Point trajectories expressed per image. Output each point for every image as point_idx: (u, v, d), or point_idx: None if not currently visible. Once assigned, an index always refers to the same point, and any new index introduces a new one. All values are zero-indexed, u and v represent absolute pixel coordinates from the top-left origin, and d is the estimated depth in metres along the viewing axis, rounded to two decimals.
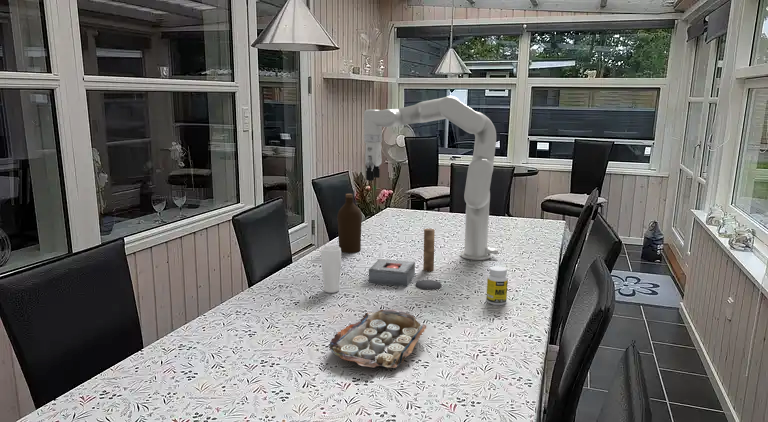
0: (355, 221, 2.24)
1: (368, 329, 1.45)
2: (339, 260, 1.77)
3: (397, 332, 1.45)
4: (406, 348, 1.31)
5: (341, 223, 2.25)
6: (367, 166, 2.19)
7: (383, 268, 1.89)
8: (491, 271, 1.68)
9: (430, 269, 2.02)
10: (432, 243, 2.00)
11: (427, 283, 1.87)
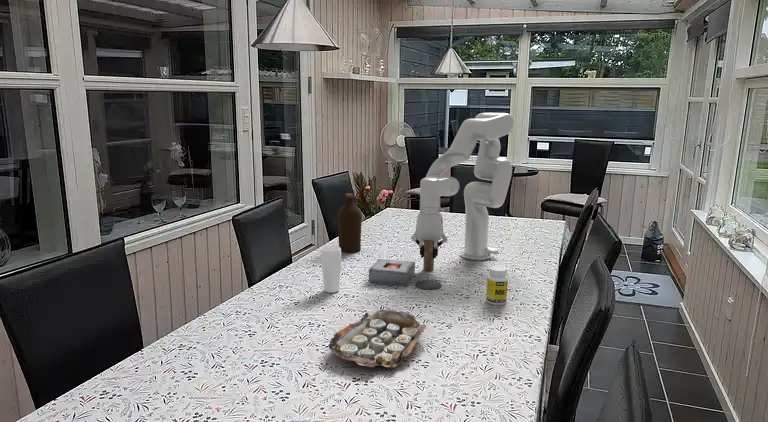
0: (355, 221, 2.24)
1: (368, 329, 1.45)
2: (339, 260, 1.77)
3: (397, 332, 1.45)
4: (406, 348, 1.31)
5: (341, 223, 2.25)
6: (442, 243, 2.01)
7: (383, 268, 1.89)
8: (491, 271, 1.68)
9: (430, 269, 2.02)
10: (432, 243, 2.00)
11: (427, 283, 1.87)
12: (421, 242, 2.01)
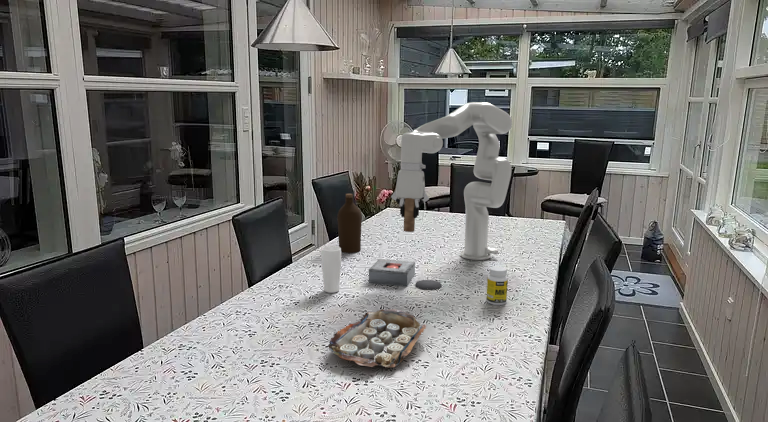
0: (355, 221, 2.24)
1: (368, 328, 1.45)
2: (339, 260, 1.77)
3: (397, 332, 1.45)
4: (405, 348, 1.31)
5: (341, 223, 2.25)
6: (423, 202, 1.91)
7: (383, 268, 1.89)
8: (491, 271, 1.68)
9: (410, 229, 1.93)
10: (413, 202, 1.91)
11: (427, 283, 1.87)
12: (401, 201, 1.92)
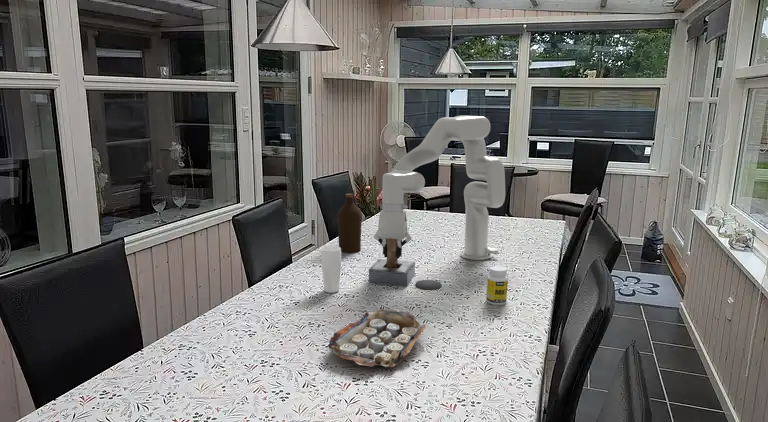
0: (355, 221, 2.24)
1: (368, 328, 1.45)
2: (339, 260, 1.77)
3: (397, 331, 1.45)
4: (405, 348, 1.31)
5: (341, 223, 2.25)
6: (406, 242, 1.89)
7: (383, 268, 1.89)
8: (491, 271, 1.68)
9: None
10: (395, 242, 1.89)
11: (427, 283, 1.87)
12: (384, 241, 1.90)
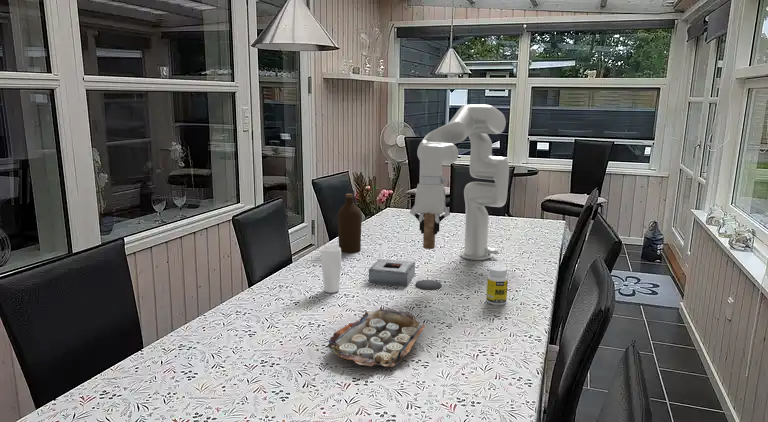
0: (355, 221, 2.24)
1: (367, 328, 1.45)
2: (339, 260, 1.77)
3: (396, 331, 1.45)
4: (404, 347, 1.31)
5: (341, 223, 2.25)
6: (444, 217, 1.80)
7: (383, 268, 1.89)
8: (491, 271, 1.68)
9: (431, 246, 1.81)
10: (433, 217, 1.80)
11: (427, 283, 1.87)
12: (421, 216, 1.81)
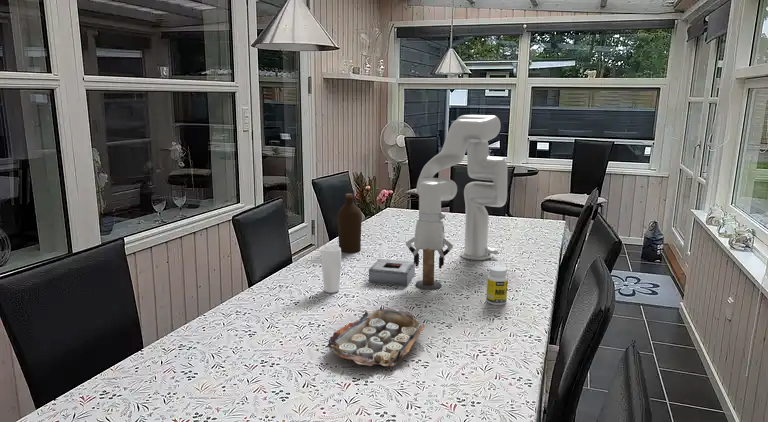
0: (355, 221, 2.24)
1: (367, 328, 1.45)
2: (339, 260, 1.77)
3: (396, 331, 1.46)
4: (404, 347, 1.31)
5: (341, 223, 2.25)
6: None
7: (383, 268, 1.89)
8: (491, 271, 1.68)
9: (430, 283, 1.84)
10: (432, 255, 1.82)
11: None
12: (416, 250, 1.83)
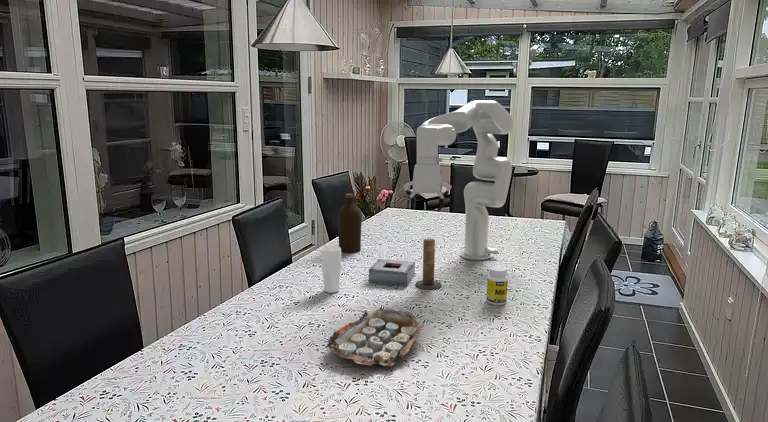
0: (355, 221, 2.24)
1: (367, 327, 1.46)
2: (339, 260, 1.77)
3: (396, 331, 1.46)
4: (404, 347, 1.32)
5: (341, 223, 2.25)
6: (448, 192, 1.87)
7: (383, 268, 1.89)
8: (491, 271, 1.68)
9: (430, 283, 1.84)
10: (432, 255, 1.82)
11: None
12: (414, 193, 1.89)
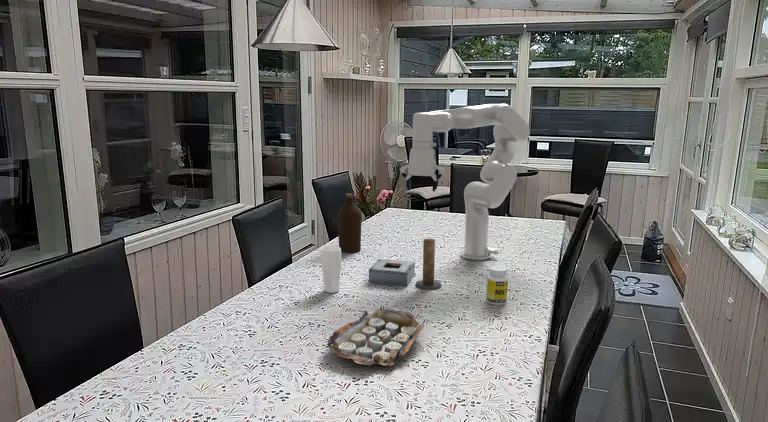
0: (355, 221, 2.24)
1: (367, 327, 1.46)
2: (339, 260, 1.77)
3: (396, 331, 1.46)
4: (403, 347, 1.32)
5: (341, 223, 2.25)
6: None
7: (383, 268, 1.89)
8: (491, 271, 1.68)
9: (430, 283, 1.84)
10: (432, 255, 1.82)
11: None
12: (409, 175, 2.02)
